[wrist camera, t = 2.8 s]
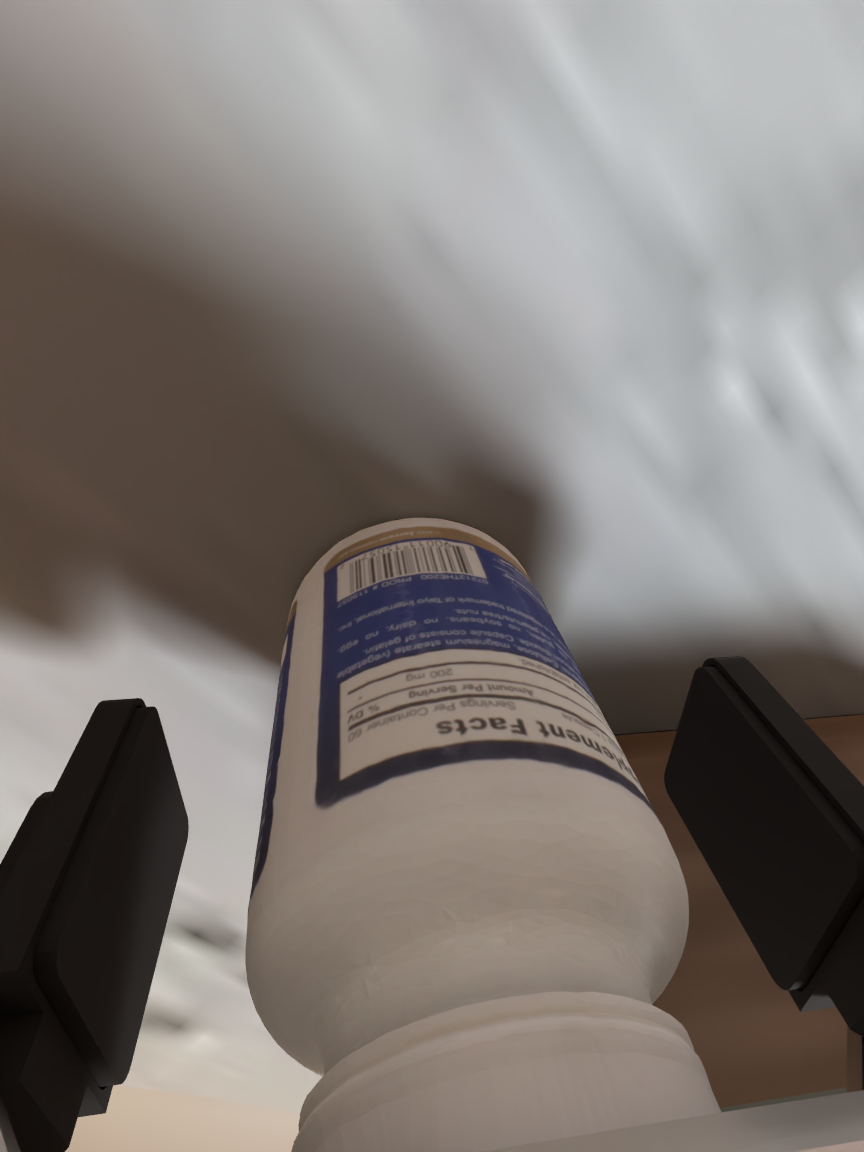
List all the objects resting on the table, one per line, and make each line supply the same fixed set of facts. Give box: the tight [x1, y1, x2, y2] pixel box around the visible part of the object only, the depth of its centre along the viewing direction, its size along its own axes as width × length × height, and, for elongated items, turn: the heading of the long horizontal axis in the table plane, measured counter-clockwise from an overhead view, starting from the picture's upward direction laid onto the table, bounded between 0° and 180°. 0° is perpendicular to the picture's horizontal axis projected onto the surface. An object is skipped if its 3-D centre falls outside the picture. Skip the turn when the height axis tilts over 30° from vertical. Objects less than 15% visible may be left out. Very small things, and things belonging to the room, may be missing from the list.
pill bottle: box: [246, 518, 722, 1152], centre depth 9 cm, size 5×5×10 cm
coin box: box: [615, 714, 864, 1112], centre depth 16 cm, size 14×12×8 cm
